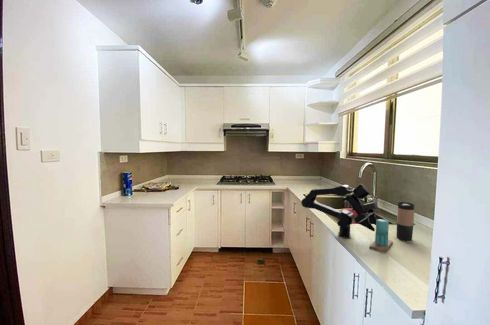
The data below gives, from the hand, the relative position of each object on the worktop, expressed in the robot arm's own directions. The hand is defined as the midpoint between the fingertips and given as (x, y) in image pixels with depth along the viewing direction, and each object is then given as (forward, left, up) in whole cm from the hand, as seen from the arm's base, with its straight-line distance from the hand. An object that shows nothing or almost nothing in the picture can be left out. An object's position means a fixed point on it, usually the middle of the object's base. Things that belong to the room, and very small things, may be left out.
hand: (376, 228), depth 122 cm
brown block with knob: (+1, +2, -8) cm, 9 cm away
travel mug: (-14, +16, -9) cm, 23 cm away
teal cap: (+1, +2, -7) cm, 8 cm away
